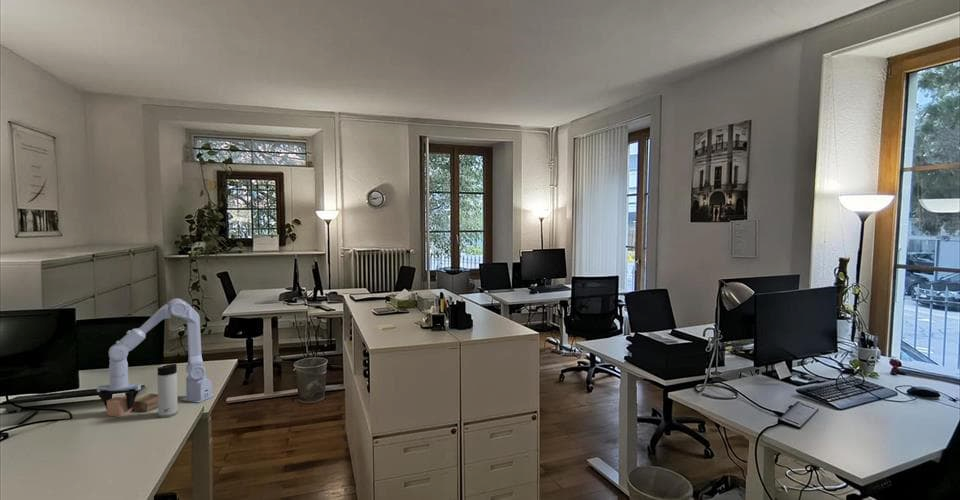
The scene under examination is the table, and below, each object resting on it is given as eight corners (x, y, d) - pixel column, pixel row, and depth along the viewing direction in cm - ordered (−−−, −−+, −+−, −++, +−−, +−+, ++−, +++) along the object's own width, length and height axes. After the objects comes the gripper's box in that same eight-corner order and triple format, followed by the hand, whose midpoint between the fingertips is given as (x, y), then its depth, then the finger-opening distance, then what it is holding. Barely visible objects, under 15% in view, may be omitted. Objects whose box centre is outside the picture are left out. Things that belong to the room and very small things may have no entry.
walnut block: (166, 405, 186) (165, 395, 186) (147, 412, 179) (146, 403, 179) (151, 402, 189) (151, 393, 188) (132, 410, 181) (131, 400, 181)
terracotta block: (132, 411, 179) (131, 396, 179) (118, 416, 174) (118, 401, 174) (120, 409, 180) (120, 395, 180) (107, 415, 175) (106, 400, 175)
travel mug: (168, 418, 173) (167, 368, 172) (154, 417, 174) (153, 366, 173) (182, 412, 179) (181, 363, 178) (168, 410, 181) (167, 361, 179)
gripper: (145, 370, 182) (145, 403, 182) (105, 372, 179) (106, 405, 180) (134, 376, 175) (135, 410, 175) (92, 378, 172) (93, 412, 173)
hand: (119, 408), depth 177 cm, fingers closed on terracotta block, 7 cm apart
